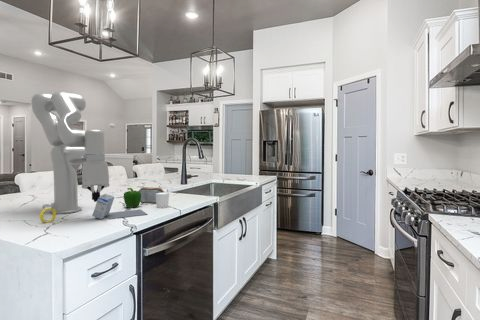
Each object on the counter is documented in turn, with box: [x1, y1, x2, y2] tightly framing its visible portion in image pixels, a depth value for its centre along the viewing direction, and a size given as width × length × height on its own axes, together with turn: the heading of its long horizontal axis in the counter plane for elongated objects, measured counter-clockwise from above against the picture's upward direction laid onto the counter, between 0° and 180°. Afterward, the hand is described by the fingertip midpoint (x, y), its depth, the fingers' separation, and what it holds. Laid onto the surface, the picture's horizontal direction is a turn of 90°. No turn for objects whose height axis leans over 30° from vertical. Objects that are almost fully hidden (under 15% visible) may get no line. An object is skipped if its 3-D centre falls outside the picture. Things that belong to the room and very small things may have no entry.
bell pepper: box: [123, 187, 141, 209], centre depth 149 cm, size 8×8×10 cm
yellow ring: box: [39, 207, 57, 224], centre depth 118 cm, size 6×3×6 cm, turn 161°
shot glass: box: [155, 192, 170, 209], centre depth 149 cm, size 7×7×7 cm
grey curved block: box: [138, 186, 164, 204], centre depth 160 cm, size 15×3×8 cm, turn 84°
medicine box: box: [92, 193, 115, 220], centre depth 126 cm, size 8×4×9 cm, turn 5°
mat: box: [105, 209, 148, 220], centre depth 132 cm, size 16×12×1 cm
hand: (96, 201), depth 125 cm, fingers closed
